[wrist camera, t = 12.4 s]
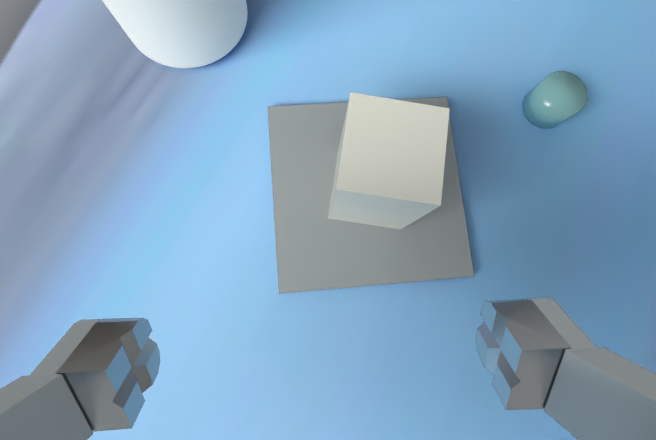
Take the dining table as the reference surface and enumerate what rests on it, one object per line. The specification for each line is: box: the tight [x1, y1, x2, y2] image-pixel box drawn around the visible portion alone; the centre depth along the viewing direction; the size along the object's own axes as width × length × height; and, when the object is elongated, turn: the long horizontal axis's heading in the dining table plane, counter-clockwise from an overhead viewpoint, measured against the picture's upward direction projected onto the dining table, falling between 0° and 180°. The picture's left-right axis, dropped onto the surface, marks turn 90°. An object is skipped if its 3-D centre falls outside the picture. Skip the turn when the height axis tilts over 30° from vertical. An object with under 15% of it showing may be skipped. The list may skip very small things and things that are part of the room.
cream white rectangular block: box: [328, 92, 450, 230], centre depth 19 cm, size 5×5×7 cm
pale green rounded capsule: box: [523, 71, 587, 129], centre depth 24 cm, size 3×3×2 cm
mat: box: [268, 97, 474, 293], centre depth 23 cm, size 12×12×1 cm
